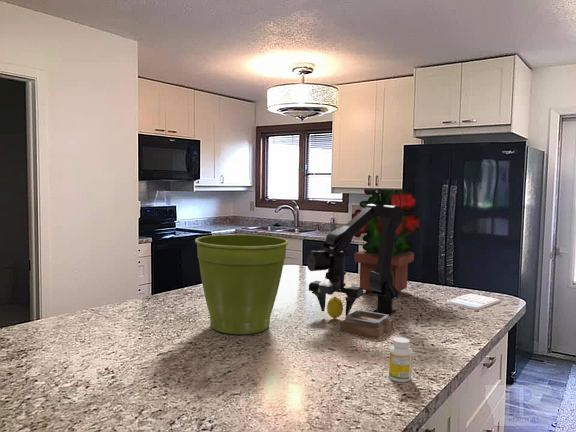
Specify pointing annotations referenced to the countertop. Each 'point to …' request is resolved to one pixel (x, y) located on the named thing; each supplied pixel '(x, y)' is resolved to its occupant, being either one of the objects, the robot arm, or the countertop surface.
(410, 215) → the potted plant
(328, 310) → the lemon
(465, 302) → the calculator
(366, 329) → the display plinth
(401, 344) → the supplement bottle
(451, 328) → the countertop surface
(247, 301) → the plant pot
